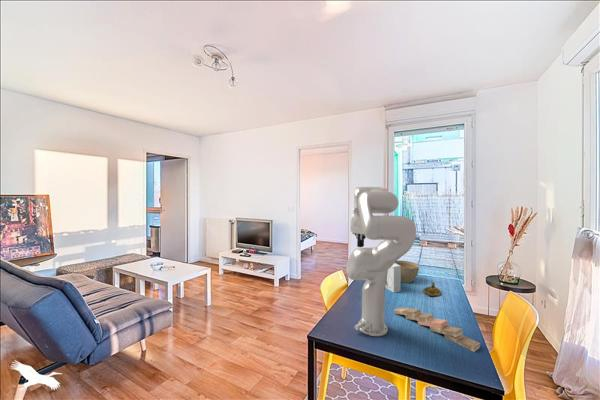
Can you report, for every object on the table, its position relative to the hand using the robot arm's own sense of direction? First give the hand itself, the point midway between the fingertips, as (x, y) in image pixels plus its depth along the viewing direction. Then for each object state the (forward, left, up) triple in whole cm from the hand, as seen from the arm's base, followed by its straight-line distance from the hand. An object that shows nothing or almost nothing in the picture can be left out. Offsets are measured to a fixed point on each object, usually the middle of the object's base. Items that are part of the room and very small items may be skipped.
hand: (360, 246), depth 133 cm
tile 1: (+10, -22, -30) cm, 39 cm away
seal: (+48, -14, -32) cm, 59 cm away
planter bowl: (+52, +6, -31) cm, 61 cm away
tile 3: (+10, -34, -30) cm, 46 cm away
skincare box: (+34, +8, -31) cm, 47 cm away
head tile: (+10, -16, -30) cm, 36 cm away
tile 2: (+10, -28, -30) cm, 42 cm away
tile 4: (+10, -40, -30) cm, 51 cm away
